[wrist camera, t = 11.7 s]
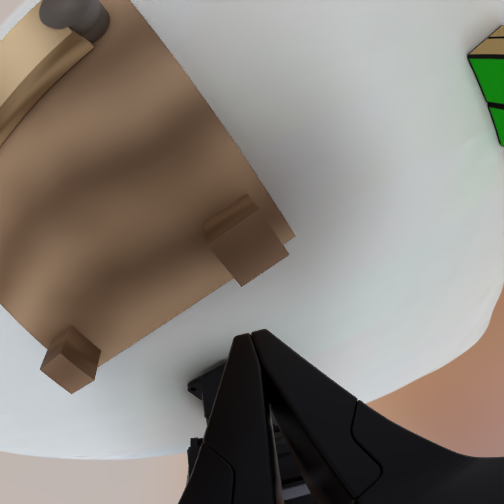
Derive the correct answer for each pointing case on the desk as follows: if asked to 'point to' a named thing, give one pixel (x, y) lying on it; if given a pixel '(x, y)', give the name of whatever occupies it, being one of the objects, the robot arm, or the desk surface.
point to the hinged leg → (44, 52)
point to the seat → (124, 203)
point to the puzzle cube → (492, 75)
